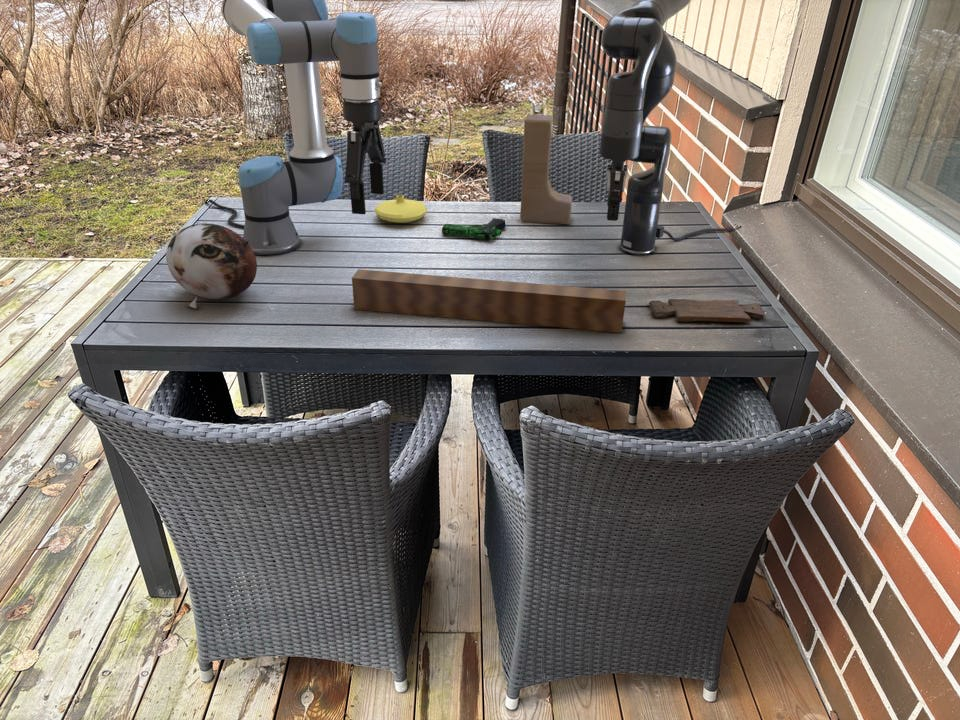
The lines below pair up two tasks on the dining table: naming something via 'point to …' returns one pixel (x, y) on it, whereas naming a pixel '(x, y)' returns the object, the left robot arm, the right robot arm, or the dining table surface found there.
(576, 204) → the dining table surface
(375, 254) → the dining table surface
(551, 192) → the decorative block
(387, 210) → the yellow round flat dome
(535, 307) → the beam
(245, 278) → the cat face balloon
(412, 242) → the dining table surface
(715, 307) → the dark wooden board
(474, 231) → the handgun
